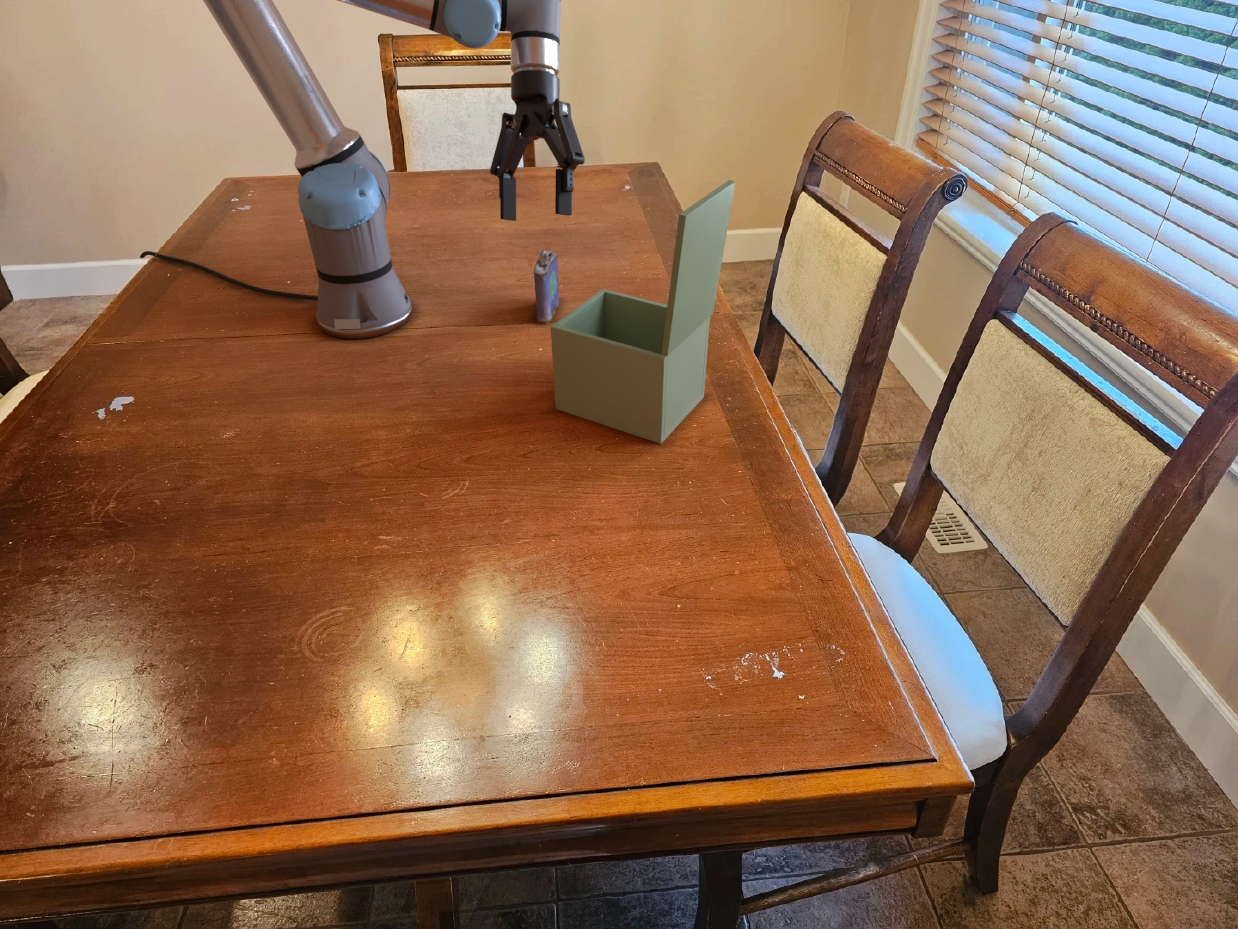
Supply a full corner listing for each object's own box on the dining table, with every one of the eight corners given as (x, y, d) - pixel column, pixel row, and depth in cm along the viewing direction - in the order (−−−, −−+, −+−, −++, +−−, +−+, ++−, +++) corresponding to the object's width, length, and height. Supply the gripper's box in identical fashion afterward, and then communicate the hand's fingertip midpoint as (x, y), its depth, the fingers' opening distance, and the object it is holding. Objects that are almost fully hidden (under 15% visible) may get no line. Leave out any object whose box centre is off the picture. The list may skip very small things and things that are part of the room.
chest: (555, 409, 110) (550, 326, 103) (604, 367, 119) (602, 288, 112) (660, 444, 104) (664, 358, 96) (704, 397, 113) (710, 315, 105)
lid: (678, 214, 85) (685, 216, 84) (729, 179, 94) (735, 181, 93) (661, 354, 96) (667, 356, 96) (707, 311, 105) (713, 313, 105)
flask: (550, 324, 130) (546, 262, 124) (532, 323, 131) (527, 261, 124) (561, 300, 137) (558, 240, 131) (544, 299, 138) (540, 239, 131)
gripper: (609, 65, 117) (606, 214, 122) (504, 93, 134) (505, 223, 138) (572, 52, 112) (570, 209, 116) (467, 83, 129) (469, 219, 133)
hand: (534, 217), depth 127 cm, fingers open, 13 cm apart
